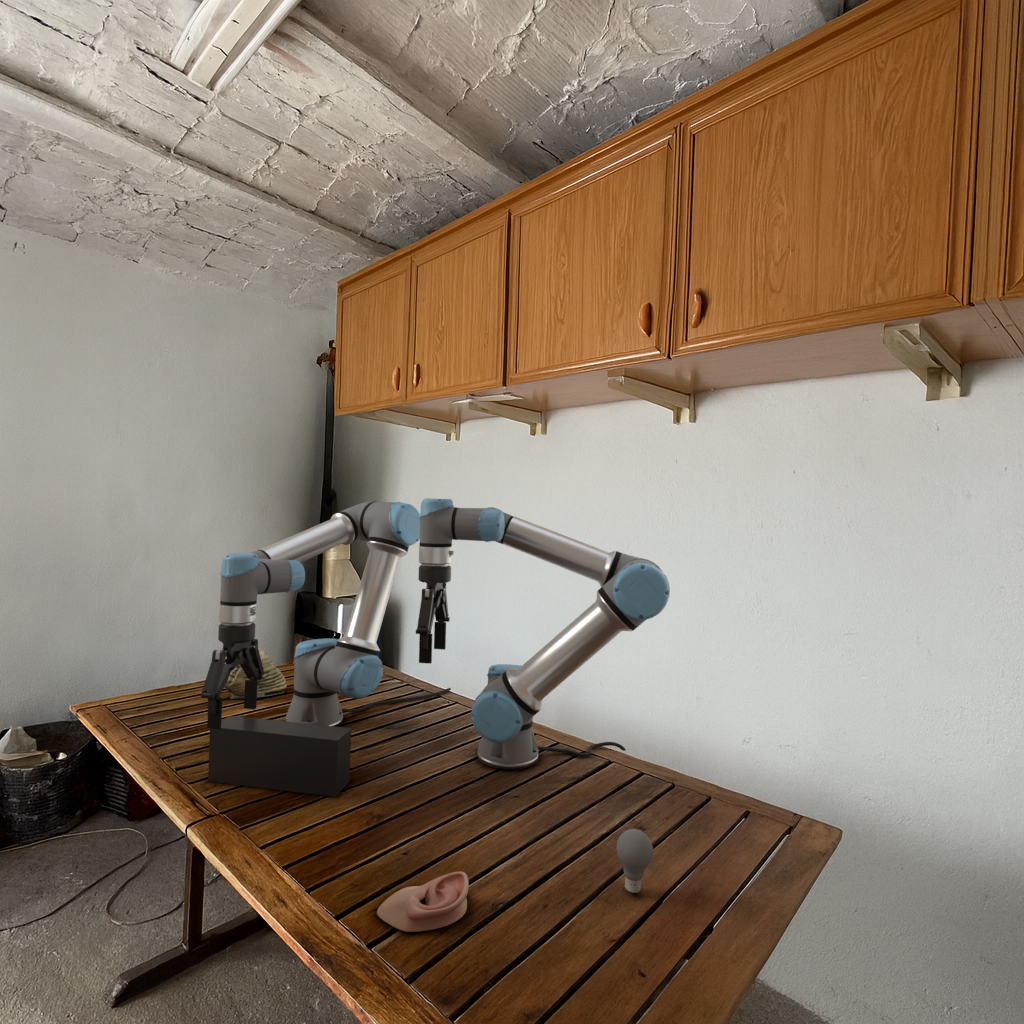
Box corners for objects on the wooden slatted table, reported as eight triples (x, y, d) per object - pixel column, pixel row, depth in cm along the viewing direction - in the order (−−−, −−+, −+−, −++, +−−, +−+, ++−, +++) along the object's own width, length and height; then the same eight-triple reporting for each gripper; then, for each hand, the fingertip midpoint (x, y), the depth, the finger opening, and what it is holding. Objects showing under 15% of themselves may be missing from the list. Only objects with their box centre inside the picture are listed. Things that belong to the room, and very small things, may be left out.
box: (207, 781, 138) (209, 726, 138) (228, 767, 146) (229, 715, 145) (335, 796, 134) (337, 740, 134) (349, 781, 141) (351, 728, 141)
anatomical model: (369, 898, 94) (398, 856, 105) (368, 925, 94) (397, 880, 106) (454, 914, 92) (475, 869, 103) (453, 941, 92) (474, 893, 103)
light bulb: (610, 879, 108) (613, 822, 108) (644, 879, 109) (647, 822, 109) (619, 902, 102) (622, 840, 102) (655, 901, 103) (658, 840, 103)
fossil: (218, 695, 195) (220, 647, 195) (278, 685, 208) (279, 640, 207) (228, 703, 189) (230, 653, 188) (289, 692, 201) (290, 645, 201)
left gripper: (218, 635, 128) (213, 739, 128) (281, 615, 153) (277, 702, 153) (185, 632, 129) (180, 735, 129) (252, 612, 154) (248, 699, 154)
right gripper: (438, 570, 134) (435, 670, 135) (461, 560, 159) (459, 644, 159) (403, 569, 135) (401, 668, 136) (432, 559, 160) (430, 643, 160)
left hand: (232, 718), depth 141 cm, fingers open, 13 cm apart
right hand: (432, 655), depth 148 cm, fingers open, 13 cm apart
